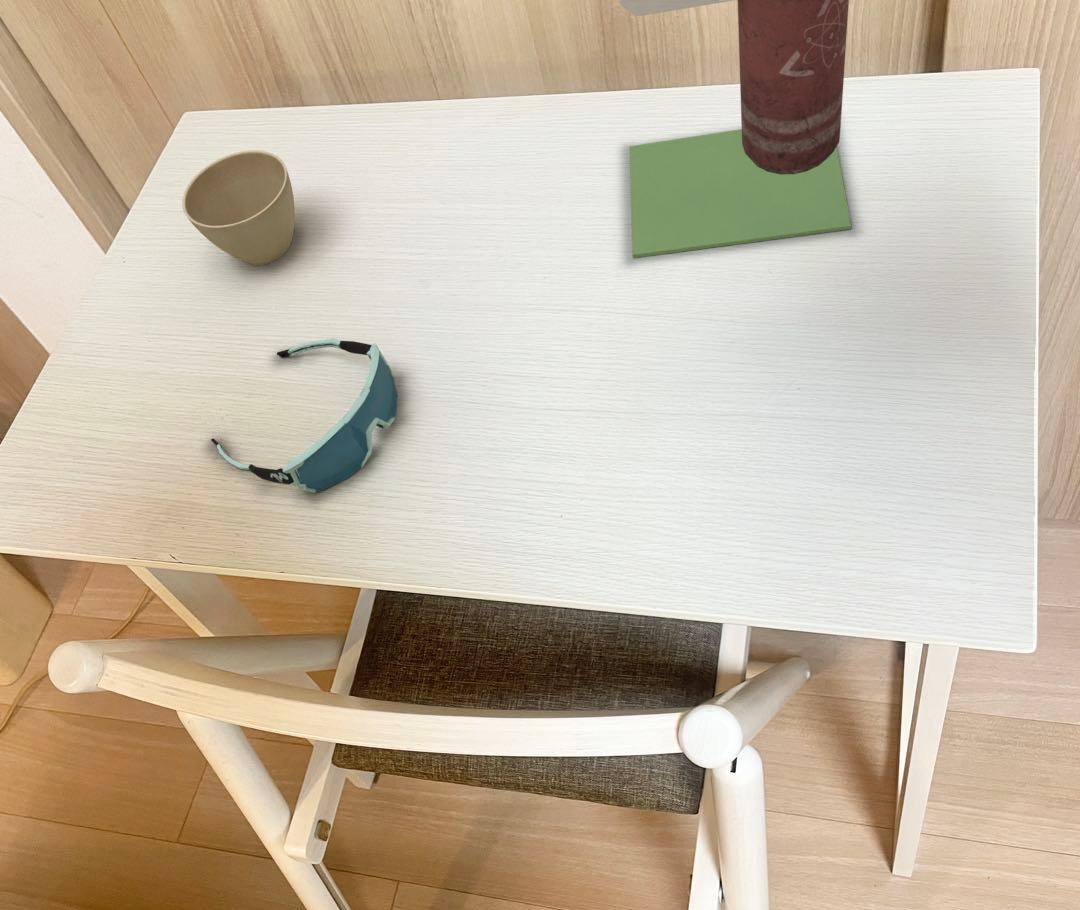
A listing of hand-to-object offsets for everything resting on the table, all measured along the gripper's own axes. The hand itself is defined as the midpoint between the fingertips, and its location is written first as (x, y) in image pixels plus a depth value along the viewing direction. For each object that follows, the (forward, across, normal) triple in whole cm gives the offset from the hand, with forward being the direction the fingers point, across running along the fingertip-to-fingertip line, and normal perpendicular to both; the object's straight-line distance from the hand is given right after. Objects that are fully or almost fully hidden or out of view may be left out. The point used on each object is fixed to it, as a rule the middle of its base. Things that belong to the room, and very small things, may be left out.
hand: (798, 49), depth 61 cm
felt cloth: (+24, -3, +16) cm, 29 cm away
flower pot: (+25, -47, +18) cm, 56 cm away
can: (+7, 0, 0) cm, 7 cm away
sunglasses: (+24, -39, -4) cm, 46 cm away
